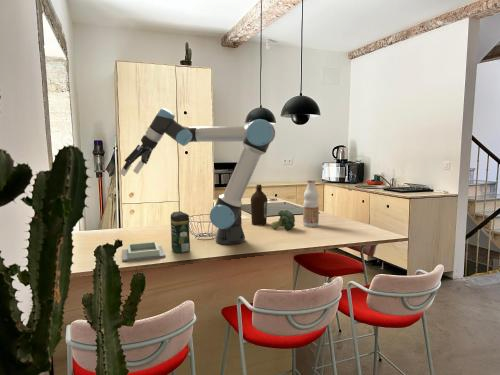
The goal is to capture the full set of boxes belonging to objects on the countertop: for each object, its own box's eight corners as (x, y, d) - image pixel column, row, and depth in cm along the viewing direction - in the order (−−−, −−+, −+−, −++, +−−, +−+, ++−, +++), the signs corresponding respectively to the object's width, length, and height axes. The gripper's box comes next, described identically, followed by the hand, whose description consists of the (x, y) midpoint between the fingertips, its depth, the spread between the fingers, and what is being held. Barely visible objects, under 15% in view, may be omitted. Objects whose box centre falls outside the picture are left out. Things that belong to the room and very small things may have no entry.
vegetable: (272, 222, 220) (294, 212, 217) (278, 239, 212) (301, 229, 209) (265, 213, 211) (288, 203, 208) (271, 231, 203) (294, 221, 200)
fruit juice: (302, 227, 216) (303, 181, 213) (303, 223, 226) (303, 179, 222) (318, 227, 215) (319, 181, 212) (318, 224, 224) (319, 179, 221)
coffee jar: (169, 249, 171) (168, 211, 168) (185, 247, 174) (184, 209, 172) (175, 254, 162) (174, 214, 160) (192, 252, 166) (191, 212, 164)
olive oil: (249, 225, 221) (249, 185, 219) (252, 221, 232) (252, 183, 229) (266, 226, 220) (266, 185, 217) (268, 222, 230) (268, 184, 227)
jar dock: (161, 247, 173) (161, 240, 173) (165, 257, 158) (165, 249, 158) (122, 251, 167) (122, 244, 167) (122, 262, 152) (122, 254, 152)
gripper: (156, 134, 184) (134, 167, 187) (133, 132, 159) (109, 170, 163) (167, 142, 183) (146, 175, 187) (146, 142, 159) (122, 180, 162)
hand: (128, 173), depth 175 cm, fingers open, 13 cm apart
